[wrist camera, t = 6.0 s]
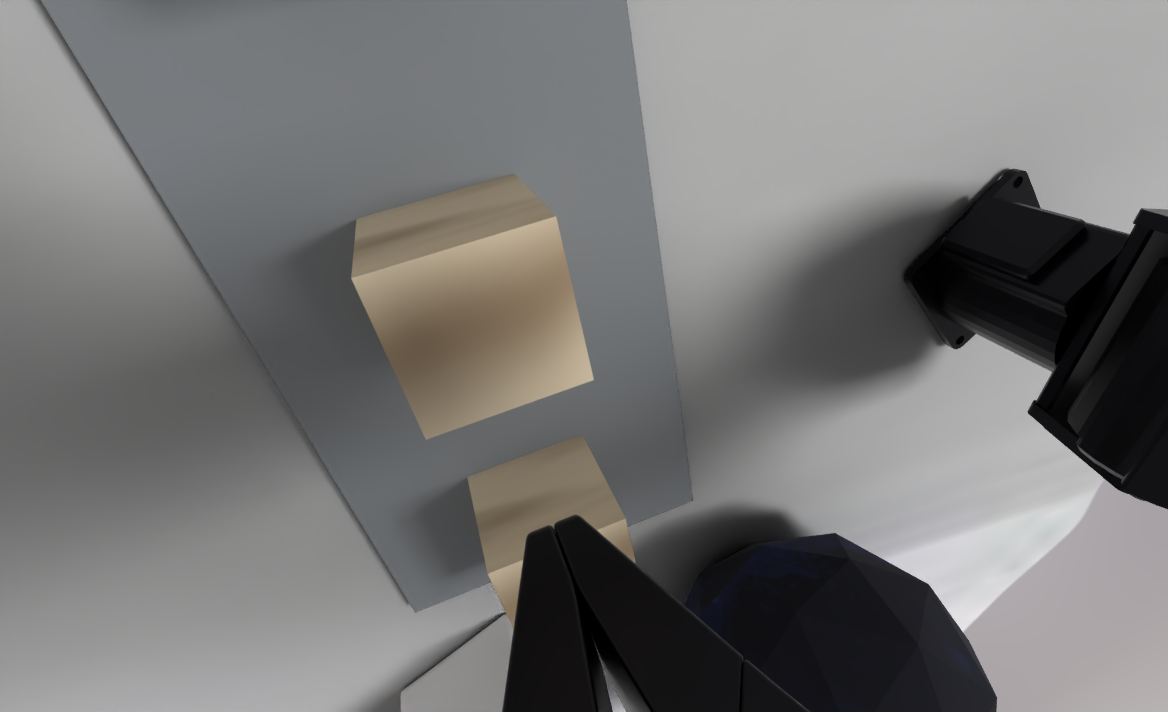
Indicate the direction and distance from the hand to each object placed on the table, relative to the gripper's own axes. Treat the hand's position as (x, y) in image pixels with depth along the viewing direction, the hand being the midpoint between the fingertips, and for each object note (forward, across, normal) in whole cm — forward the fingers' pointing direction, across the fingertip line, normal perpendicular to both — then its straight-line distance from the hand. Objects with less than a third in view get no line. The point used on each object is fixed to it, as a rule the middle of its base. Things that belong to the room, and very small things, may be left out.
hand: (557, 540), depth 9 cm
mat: (+13, 0, 0) cm, 13 cm away
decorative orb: (+13, -10, +24) cm, 29 cm away
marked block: (+12, 0, +11) cm, 16 cm away
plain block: (+12, 0, 0) cm, 12 cm away
